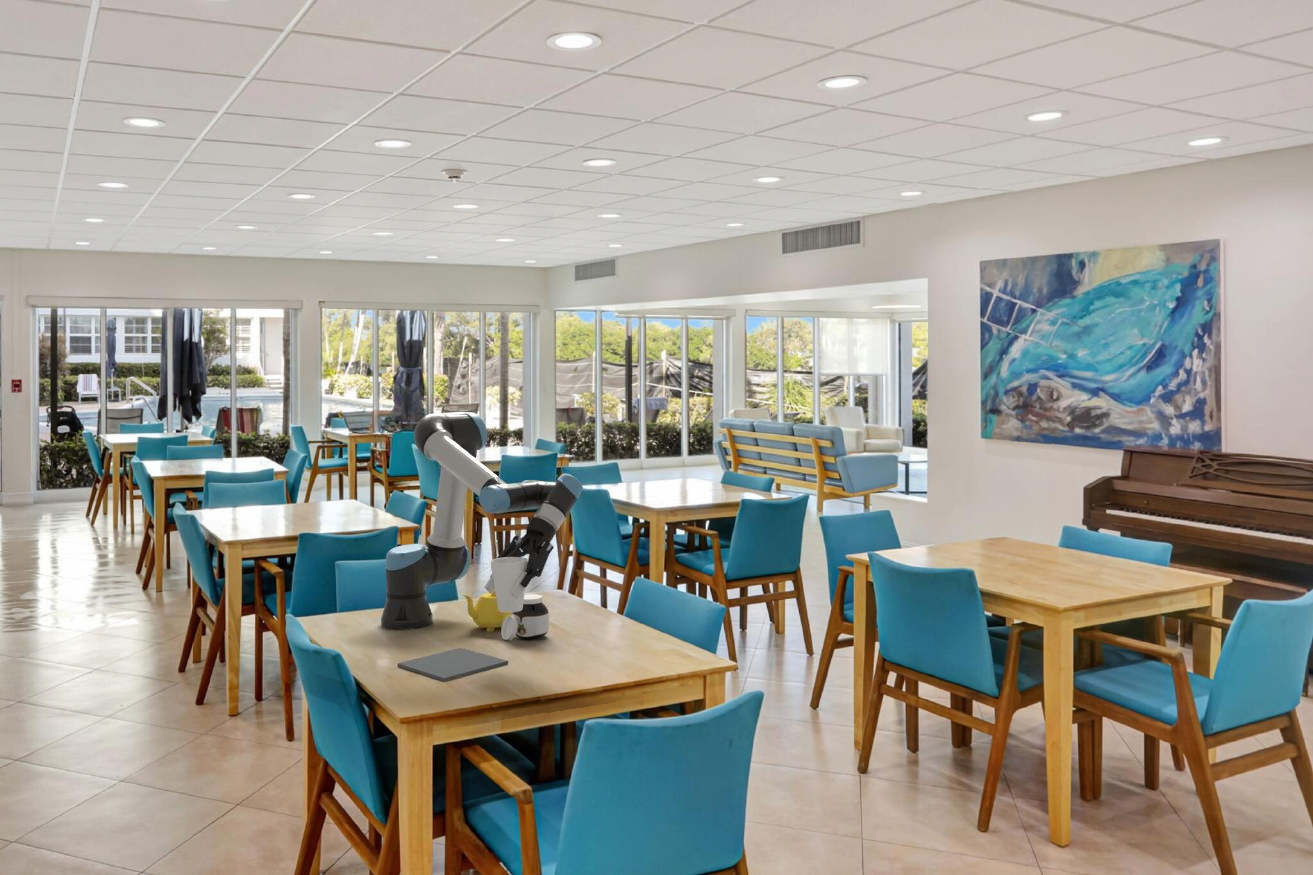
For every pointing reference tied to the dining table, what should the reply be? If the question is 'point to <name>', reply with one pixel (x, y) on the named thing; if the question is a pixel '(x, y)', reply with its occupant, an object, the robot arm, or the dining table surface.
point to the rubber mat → (452, 664)
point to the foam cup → (508, 582)
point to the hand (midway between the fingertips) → (500, 593)
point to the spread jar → (527, 620)
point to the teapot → (486, 612)
